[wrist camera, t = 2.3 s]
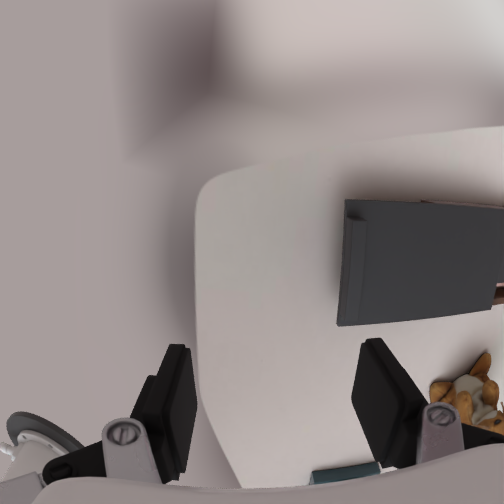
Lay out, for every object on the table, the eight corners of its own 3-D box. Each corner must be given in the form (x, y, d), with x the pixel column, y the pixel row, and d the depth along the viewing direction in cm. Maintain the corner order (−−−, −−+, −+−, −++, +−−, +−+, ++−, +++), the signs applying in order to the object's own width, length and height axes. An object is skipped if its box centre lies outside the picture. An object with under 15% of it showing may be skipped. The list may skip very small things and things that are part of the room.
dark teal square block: (306, 496, 38) (309, 515, 35) (311, 471, 36) (315, 492, 33) (365, 487, 39) (370, 505, 35) (376, 461, 37) (384, 480, 33)
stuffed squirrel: (488, 345, 32) (545, 398, 19) (474, 414, 35) (513, 466, 23) (429, 373, 32) (481, 442, 20) (421, 440, 36) (455, 502, 23)
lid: (336, 323, 26) (342, 336, 24) (344, 199, 24) (353, 202, 22) (488, 307, 27) (499, 315, 24) (504, 209, 24) (518, 212, 22)
